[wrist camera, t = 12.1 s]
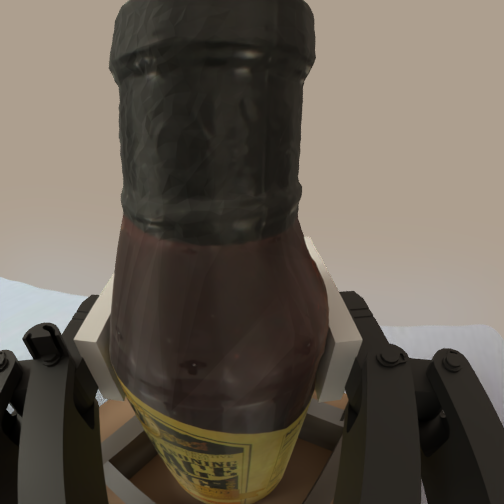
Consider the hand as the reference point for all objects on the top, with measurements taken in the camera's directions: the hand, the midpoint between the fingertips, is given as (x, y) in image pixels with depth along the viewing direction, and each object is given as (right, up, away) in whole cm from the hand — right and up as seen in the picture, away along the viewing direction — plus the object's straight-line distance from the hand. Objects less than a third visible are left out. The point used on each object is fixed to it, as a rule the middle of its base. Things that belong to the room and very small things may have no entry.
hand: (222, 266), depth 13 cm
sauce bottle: (0, -12, 0) cm, 12 cm away
